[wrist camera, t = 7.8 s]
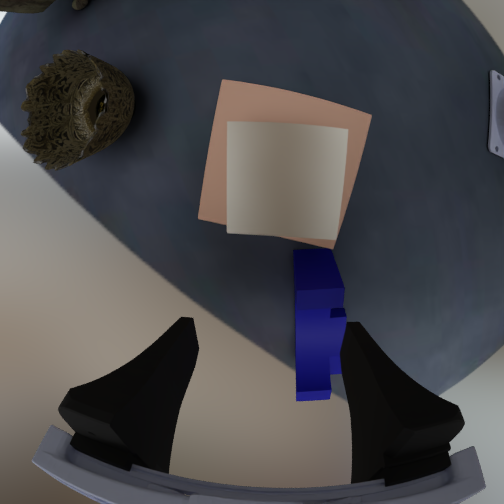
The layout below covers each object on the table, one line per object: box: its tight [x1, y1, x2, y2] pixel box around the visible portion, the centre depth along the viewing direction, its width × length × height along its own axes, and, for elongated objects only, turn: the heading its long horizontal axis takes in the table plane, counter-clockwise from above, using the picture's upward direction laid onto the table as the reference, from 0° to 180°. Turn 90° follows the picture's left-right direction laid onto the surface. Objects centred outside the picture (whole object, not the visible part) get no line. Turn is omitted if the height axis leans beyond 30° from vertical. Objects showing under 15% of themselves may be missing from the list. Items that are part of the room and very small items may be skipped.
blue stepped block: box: [293, 248, 347, 401], centre depth 22 cm, size 12×4×6 cm, turn 6°
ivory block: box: [227, 121, 348, 240], centre depth 13 cm, size 4×4×6 cm
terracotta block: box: [198, 79, 372, 249], centre depth 18 cm, size 9×9×4 cm
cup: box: [21, 50, 136, 170], centre depth 14 cm, size 8×7×8 cm
